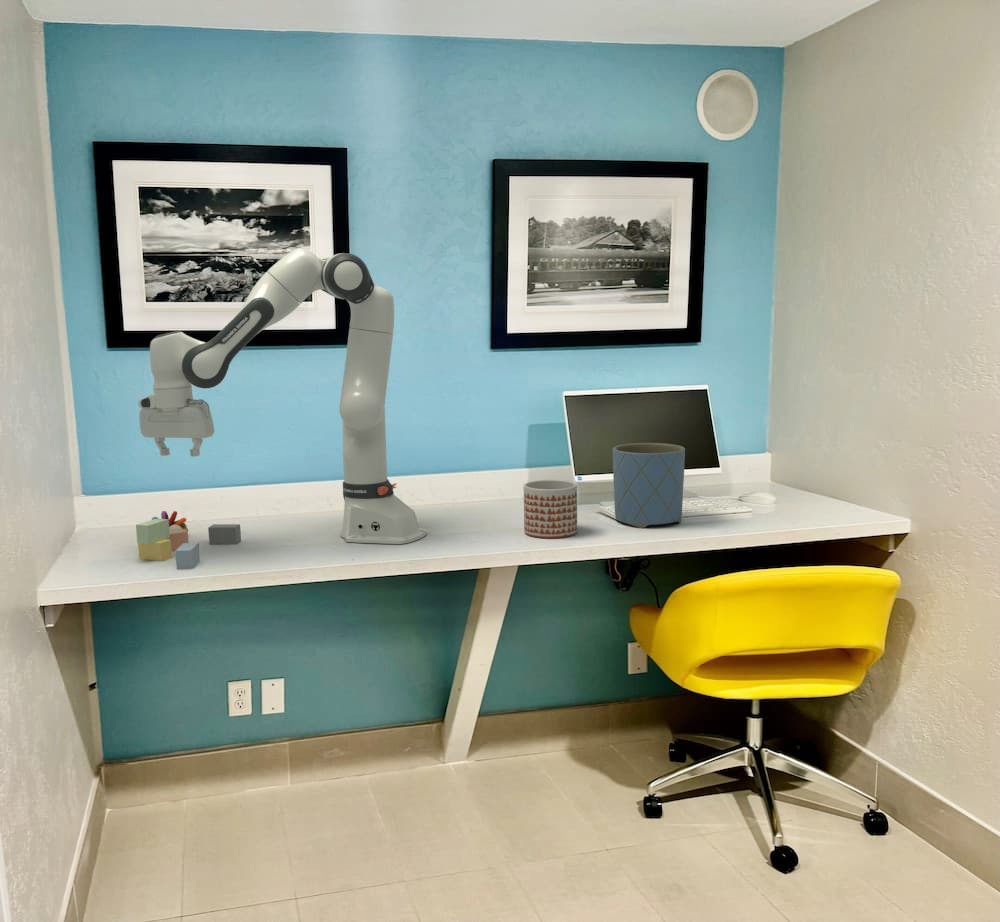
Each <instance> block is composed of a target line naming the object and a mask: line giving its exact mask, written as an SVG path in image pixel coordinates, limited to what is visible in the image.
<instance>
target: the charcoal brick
mask: <svg viewBox="0 0 1000 922" xmlns="http://www.w3.org/2000/svg"><path fill="white" fill-rule="evenodd" d="M207 529H208V530H207V531H208V541H209V545H238V544H239V543H241V542H242V535H241V534H242V533H241V524H239V523H238V524H237V523H236V524H234V523H233V524H232V523H231V524H230V523H229V524H228V523H225V524H223V523H221V524H220V523H218V524H216V523H215V524H212V525H210V526H208V528H207Z"/></svg>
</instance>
